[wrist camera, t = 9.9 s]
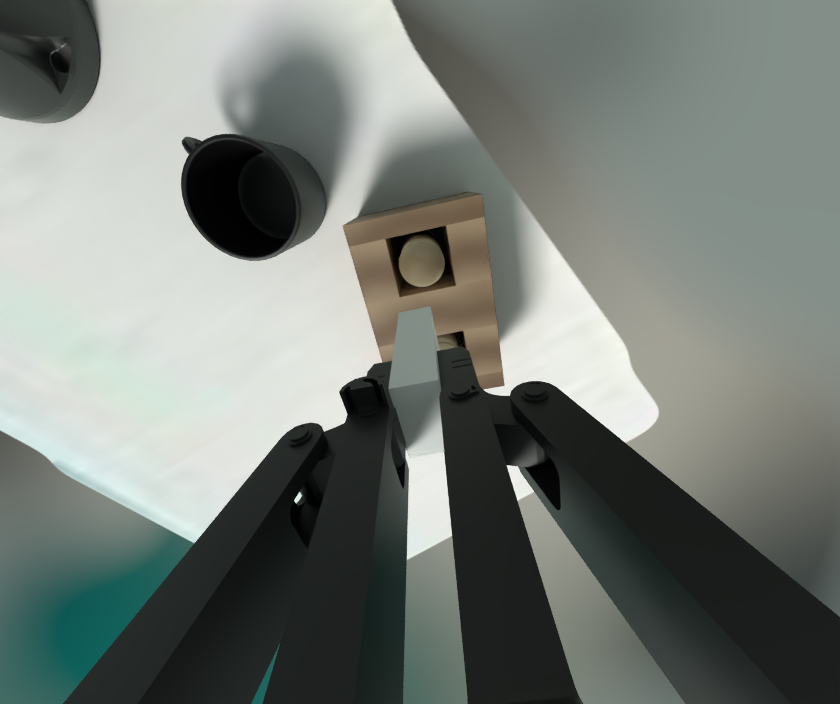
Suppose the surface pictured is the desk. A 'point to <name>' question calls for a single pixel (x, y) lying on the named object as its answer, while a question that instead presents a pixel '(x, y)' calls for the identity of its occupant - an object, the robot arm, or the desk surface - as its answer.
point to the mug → (250, 195)
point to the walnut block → (450, 295)
